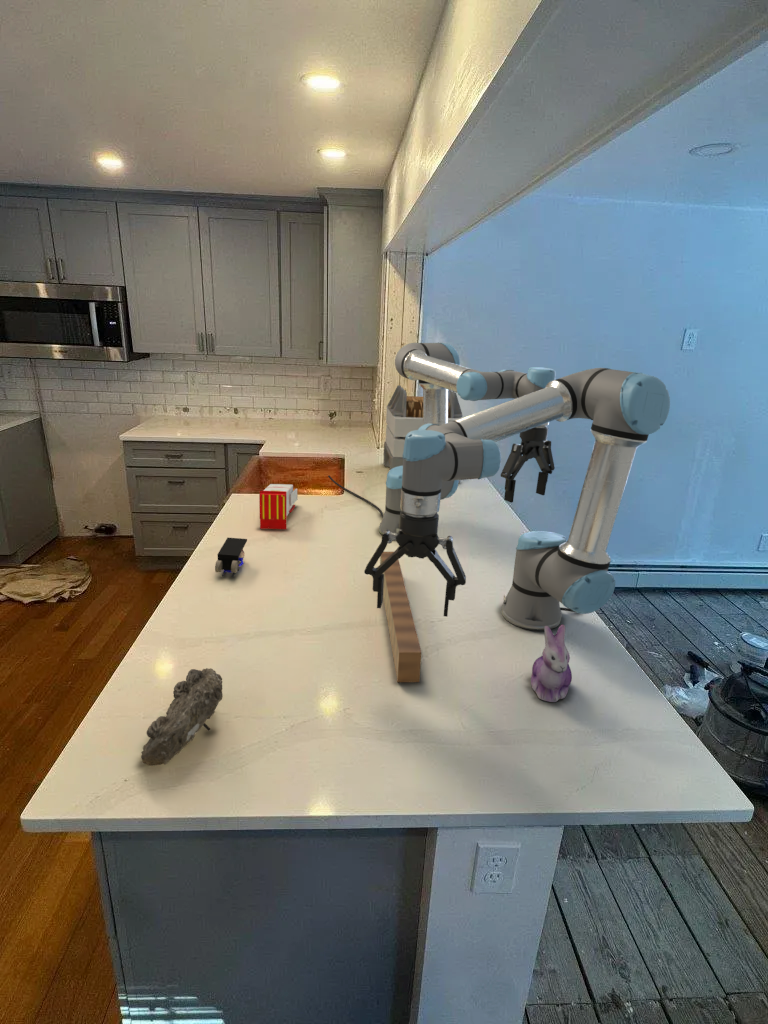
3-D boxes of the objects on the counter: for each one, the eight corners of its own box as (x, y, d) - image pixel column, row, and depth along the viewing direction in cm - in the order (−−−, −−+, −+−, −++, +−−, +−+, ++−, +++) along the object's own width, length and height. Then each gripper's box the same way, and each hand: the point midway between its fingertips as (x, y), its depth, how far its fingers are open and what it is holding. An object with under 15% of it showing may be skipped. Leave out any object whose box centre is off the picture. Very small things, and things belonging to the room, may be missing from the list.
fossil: (171, 669, 114) (224, 637, 109) (205, 700, 117) (257, 670, 112) (115, 759, 95) (175, 724, 90) (157, 793, 97) (218, 762, 92)
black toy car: (238, 584, 162) (249, 557, 175) (236, 562, 158) (247, 536, 172) (215, 584, 161) (227, 556, 175) (212, 561, 158) (225, 535, 171)
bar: (379, 574, 169) (380, 551, 166) (395, 574, 169) (396, 551, 167) (397, 682, 121) (399, 652, 118) (419, 682, 121) (421, 652, 118)
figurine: (550, 710, 114) (561, 646, 109) (517, 681, 122) (526, 620, 117) (585, 697, 118) (597, 635, 113) (550, 670, 127) (560, 611, 121)
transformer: (382, 463, 289) (386, 382, 275) (445, 464, 293) (451, 384, 279) (390, 482, 257) (394, 392, 243) (460, 483, 261) (468, 394, 247)
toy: (299, 479, 223) (289, 492, 194) (299, 512, 226) (289, 530, 197) (268, 478, 223) (253, 491, 193) (268, 512, 225) (254, 529, 196)
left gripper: (514, 431, 148) (504, 508, 155) (574, 424, 162) (562, 494, 169) (493, 426, 153) (484, 500, 161) (553, 419, 167) (542, 487, 174)
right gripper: (351, 511, 107) (349, 610, 114) (485, 524, 104) (473, 625, 111) (359, 499, 114) (356, 593, 121) (484, 511, 111) (473, 607, 118)
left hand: (524, 497), depth 165 cm, fingers open, 13 cm apart
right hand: (412, 609), depth 116 cm, fingers open, 13 cm apart
